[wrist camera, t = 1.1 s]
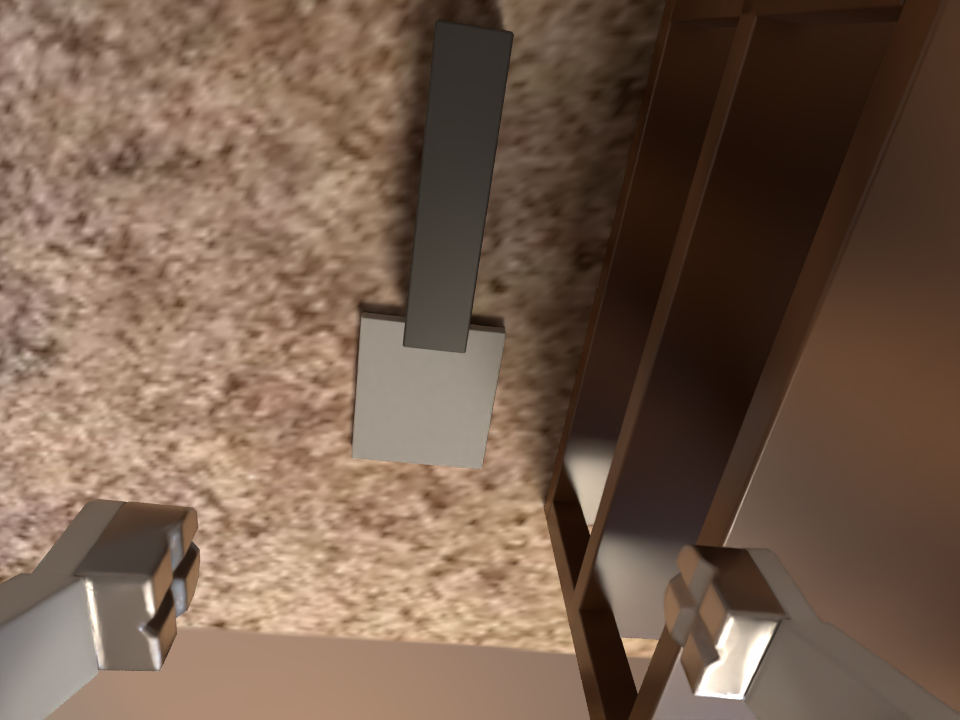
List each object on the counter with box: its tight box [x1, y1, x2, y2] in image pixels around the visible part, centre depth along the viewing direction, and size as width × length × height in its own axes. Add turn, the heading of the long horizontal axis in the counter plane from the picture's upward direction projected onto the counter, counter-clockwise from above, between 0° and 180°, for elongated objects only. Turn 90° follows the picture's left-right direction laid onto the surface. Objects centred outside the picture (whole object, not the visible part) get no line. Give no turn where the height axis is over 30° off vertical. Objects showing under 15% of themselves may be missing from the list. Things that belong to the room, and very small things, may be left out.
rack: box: [544, 0, 960, 720], centre depth 21 cm, size 23×10×14 cm, turn 172°
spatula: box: [352, 20, 514, 469], centre depth 25 cm, size 18×6×3 cm, turn 172°
